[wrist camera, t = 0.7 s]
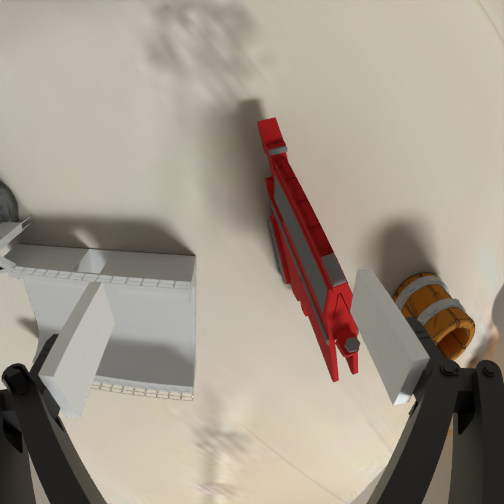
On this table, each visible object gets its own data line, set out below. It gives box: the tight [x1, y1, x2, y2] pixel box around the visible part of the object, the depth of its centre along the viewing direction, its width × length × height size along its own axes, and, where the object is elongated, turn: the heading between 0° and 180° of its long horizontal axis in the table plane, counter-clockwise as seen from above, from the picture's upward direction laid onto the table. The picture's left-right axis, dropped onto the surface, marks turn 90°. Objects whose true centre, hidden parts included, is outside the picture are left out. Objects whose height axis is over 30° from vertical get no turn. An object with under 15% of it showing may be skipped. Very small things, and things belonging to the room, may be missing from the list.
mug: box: [393, 273, 475, 360], centre depth 45 cm, size 11×16×15 cm, turn 161°
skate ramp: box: [0, 216, 196, 401], centre depth 42 cm, size 30×27×11 cm
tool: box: [257, 118, 360, 382], centre depth 36 cm, size 24×5×25 cm, turn 15°
